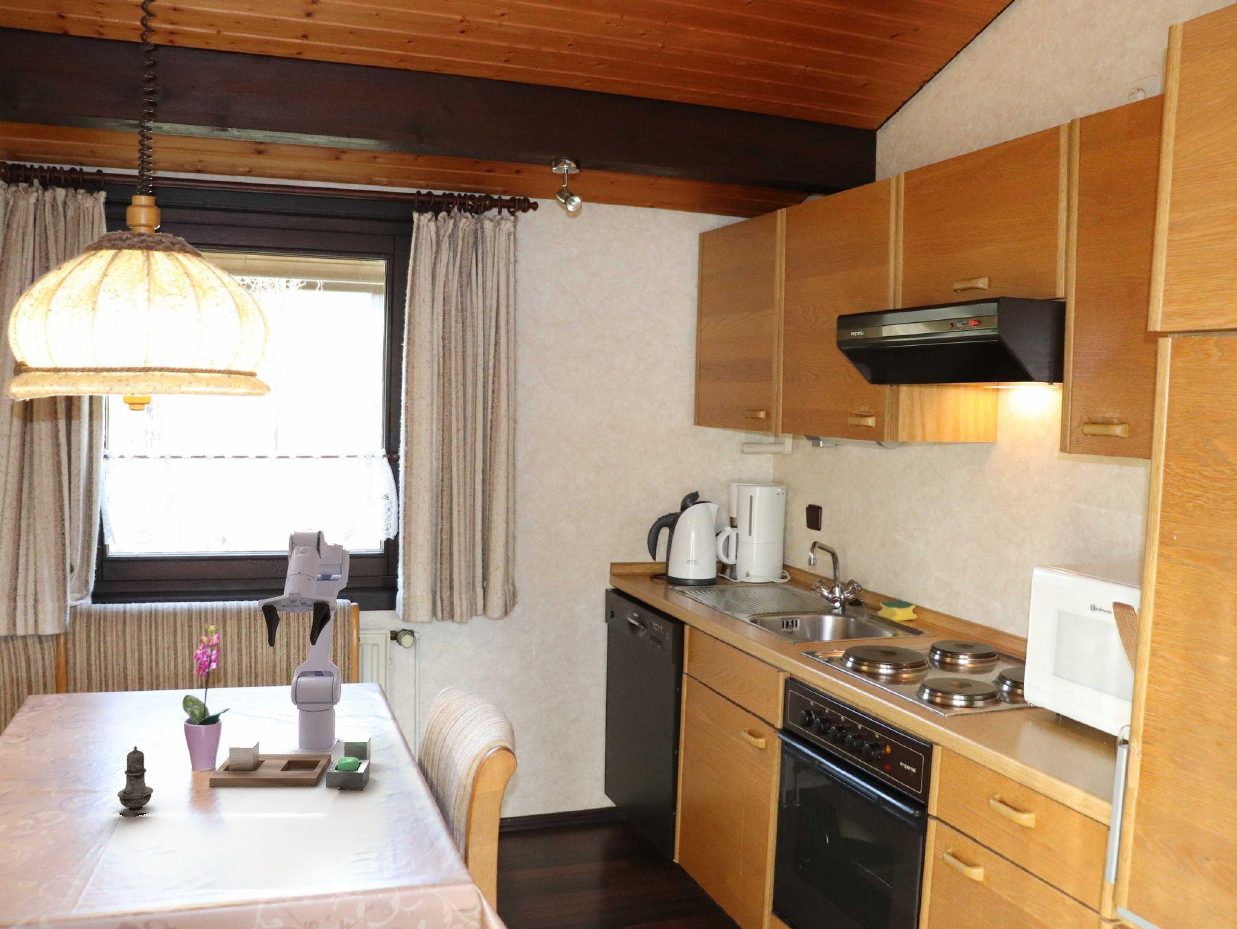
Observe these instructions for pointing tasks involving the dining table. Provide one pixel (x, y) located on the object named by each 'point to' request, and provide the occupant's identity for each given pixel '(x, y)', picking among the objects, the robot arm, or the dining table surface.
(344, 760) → the button
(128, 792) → the salt shaker
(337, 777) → the button box
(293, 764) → the wooden socket board
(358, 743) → the block
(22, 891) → the dining table surface
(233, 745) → the block
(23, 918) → the dining table surface
